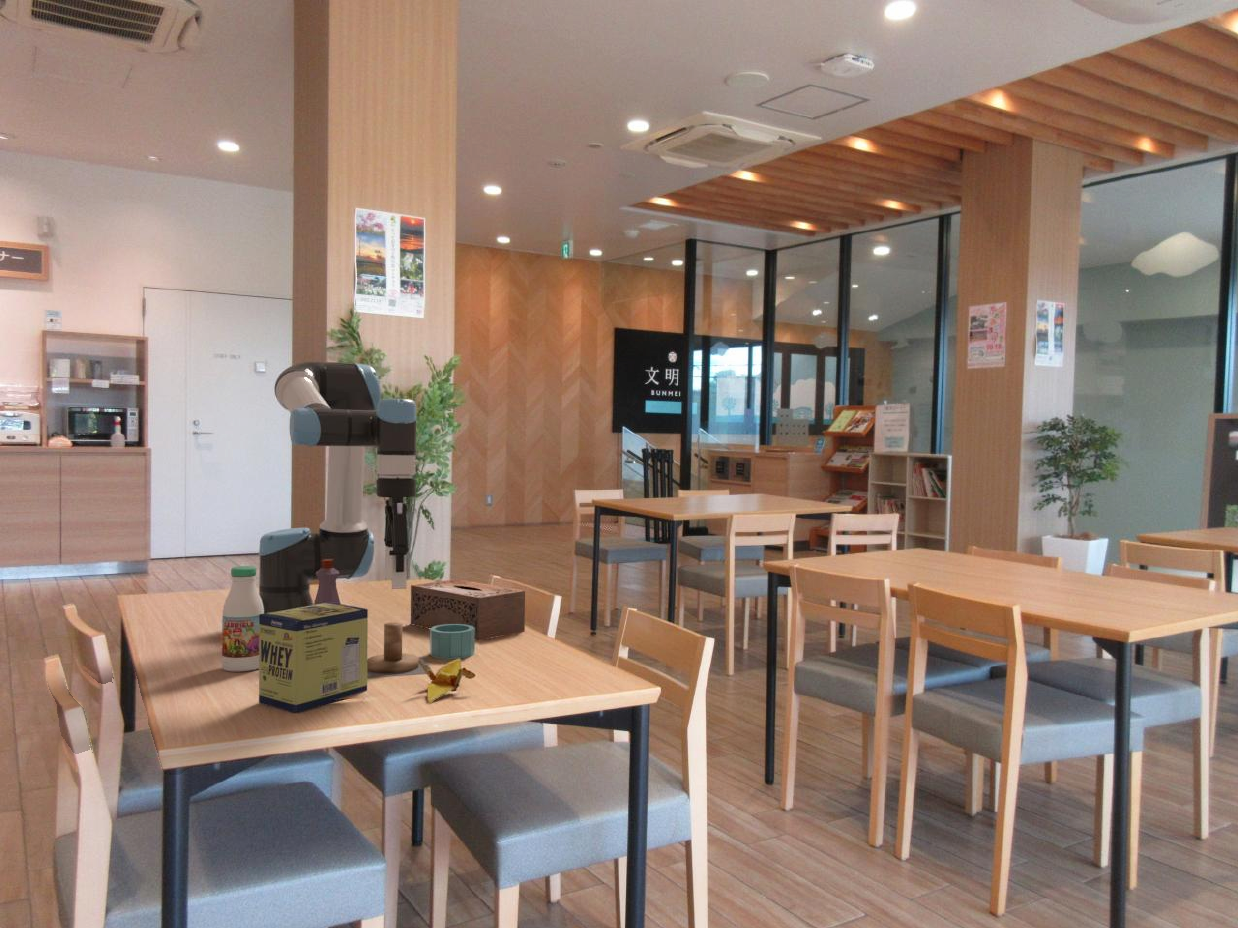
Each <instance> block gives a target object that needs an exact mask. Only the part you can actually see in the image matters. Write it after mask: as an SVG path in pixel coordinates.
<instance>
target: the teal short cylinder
mask: <svg viewBox="0 0 1238 928" xmlns="http://www.w3.org/2000/svg"><path fill="white" fill-rule="evenodd" d="M429 634H430V637H429V653H430V656H431V657H432V658H436V659H442V660H457V659H459V658H460V659H465V658H466V659H467V658H469V657H472V656H474V655H475V654H474V653H475V648H476V647H475V646H476V645H475V644H476V643H475V641H476V640H475V628H474V627H473V626H470V625H465V624H444V625H438V626H434V627H432V628H430V629H429Z"/></svg>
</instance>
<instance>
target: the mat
mask: <svg viewBox="0 0 1238 928" xmlns="http://www.w3.org/2000/svg"><path fill="white" fill-rule="evenodd" d="M417 657H418V658H419V659H421V660H422V661H423V663H424V664H427V665H428V666H429V667H428V668H430V669H429V670H431V671H432V672H433V673H434V671H433V670H432V668H431V666H430V664H429V662H428V660H427V659H426V657H425V656H417ZM425 661H426V662H427V663H426V662H425ZM414 675H415V676H416V675H426V674H425V671H424V670H423V667H422V666H421V665H420V663H419V667H418V668H417V669H415V670H412V671H408V672H402V673H375V672H371V671H369V670H367V679H373V678H387V677H402V676H414Z"/></svg>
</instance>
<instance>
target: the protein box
mask: <svg viewBox="0 0 1238 928" xmlns="http://www.w3.org/2000/svg"><path fill="white" fill-rule="evenodd" d="M368 611H369V610H368V608H363V607H359V606H354V605H353V606H352V605H347V604H342V603H341V604H338V603H332V602H329V603H323V604H317V605H312V606H306V607H301V608H295V609H289V610H283V611H278V612H271V613H264V614H260V615H259V669H258V675H259V676H258V684H259V685H258V703H259V704H264V705H266V706H268V707H269V706H270V707H273V708H276V709H279V708H280V709H279V710H283V711H286V710H287V712H290V713H293V714H299V713H303V712H306V711H309V710H314V709H316V708H320V707H323V706H328V705H331V704H335V703H339V702H342V701H344V700H347V698H346V697H348V696H353V695H355V694H359V693H364V692H366V691H368V678H367V659H368V642H369V641H368V635H369V634H368V633H369V632H368V631H369V629H368V625H369V623H368V620H369V619H368V618H369V617H368V616H369V613H368Z"/></svg>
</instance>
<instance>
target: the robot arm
mask: <svg viewBox="0 0 1238 928" xmlns="http://www.w3.org/2000/svg"><path fill="white" fill-rule="evenodd" d="M274 396H275V398H276V400H277V401H278V403H279V405H280V406H281V407H282V408H284V410H287V411H289V413H290V416H289V436H290V441H291V443H292V444H293V445H296V446H306V447H309V448H310V447H312V448H313V447H328V455H327V456H328V459H327V461H328V463H327V485H326V486H327V487H326V488H327V489H326V490H327V491H326V511H325V512H326V514H325V519H324V521H322V522H321V523H320V524H319V528H318V529H319V532H315V533H313V532H311V529H310V527H302V526H301V527H292V528H285V529H278V530H274V531H270V532H267V533H264V534H263V535H262V536H261V537H260V539H259V540H260V541H259V551H258V554H257V555H258V556H259V575H258V577H259V578H258V584H259V585H258V586H259V587H258V590H259V591H258V593H259V595H260V597H261V599H262V602H263V607H264V613H271V612H278V611H283V610H289V609H295V608H301V607H306V606H312V605H314V601H313V598H312V595H311V590H310V589H311V588H310V585H311V584H310V583H311V581H319V580H318V578H317V576H316V572H317V571H319V570H320V569H321V568H322V560H324V559H333V568H334V569H336V570H337V571H338V572H339V575H338V577H337V579H336V580H340V579H341V580H342V579H345V580H350V579H355V578H362V577H365V576H366V575H367V574H368V573H369V571H370V569H371V567H372V564H373V560H374V555H375V537H374V534H373V532H371V531H369V530H368V525H367V524H366V522H365V521H364V520H363V500H364V499H363V498H364V480H365V479H364V478H365V477H364V474H365V449H366V447H371V448H374V447H375V448H376V467H375V469H376V472H375V473H376V475H378V476H379V477H377V479H376V496H377V497H379V498H386V500H385V504H386V505H385V506H384V514H385V517H384V519H385V525H384V527H385V528H384V538H383V541H384V546H385V548H384V552H385V553H384V580H391V590H406V589H407V583H408V582H407V577H408V576H407V574H408V573H407V572H408V569H407V567H408V566H407V563H408V561H407V560H408V559H407V558H408V552H409V550H410V549H409V542H408V541H409V540H408V523H407V521H408V520H407V519H408V518H407V514H408V505H407V502H404V498H412V497H415V496H416V487H417V485H416V484H417V482H416V479H415V478H413V476H415V475H416V466H418V465H420V463H419V460H418V459H416V454H417V453H416V451H417V450H416V449H417V448H416V447H417V420H418V415H417V408H416V407H417V405H416V403H415V401H414V400H412V399H407V398H405V399H404V398H382V394H381V385H380V380H379V376H378V373H377V371H376V370H375V368H374V367H372V366H371V365H369V364H363V363H356V362H331V361H329V362H328V361H317V360H316V361H315V360H313V361H310V360H309V361H303V362H302V361H301V362H299V363H295V364H292V365H290V366H289V367H287V368H286V369H284V370H283V371H282V372H281V373H280V374H279V375H278V377H277V378H276V381H275V383H274Z"/></svg>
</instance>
